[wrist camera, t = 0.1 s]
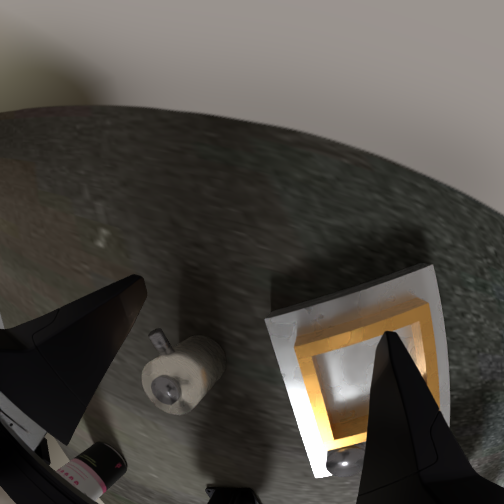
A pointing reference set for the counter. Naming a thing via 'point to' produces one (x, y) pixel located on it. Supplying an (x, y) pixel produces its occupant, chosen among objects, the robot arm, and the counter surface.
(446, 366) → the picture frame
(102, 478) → the beverage can
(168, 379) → the spout can
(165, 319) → the counter surface
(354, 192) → the counter surface
